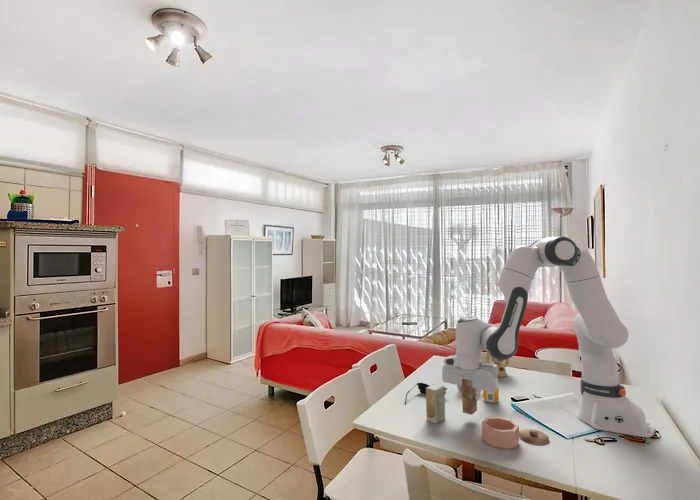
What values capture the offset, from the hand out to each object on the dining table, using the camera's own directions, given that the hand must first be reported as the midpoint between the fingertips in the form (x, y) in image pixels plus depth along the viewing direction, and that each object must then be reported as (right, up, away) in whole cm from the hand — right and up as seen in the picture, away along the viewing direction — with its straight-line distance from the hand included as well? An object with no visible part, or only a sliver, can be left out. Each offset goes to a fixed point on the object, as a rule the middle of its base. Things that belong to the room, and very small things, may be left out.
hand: (469, 398), depth 140 cm
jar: (+5, -8, -16) cm, 18 cm away
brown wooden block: (0, -5, 0) cm, 5 cm away
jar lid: (+17, -8, -14) cm, 23 cm away
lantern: (+32, -9, +54) cm, 63 cm away
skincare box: (-12, -8, +1) cm, 15 cm away
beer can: (+15, -8, +19) cm, 25 cm away
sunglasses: (-13, -9, +19) cm, 25 cm away
